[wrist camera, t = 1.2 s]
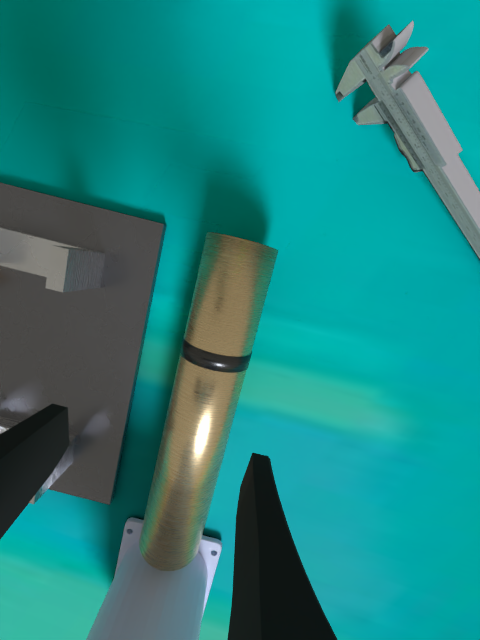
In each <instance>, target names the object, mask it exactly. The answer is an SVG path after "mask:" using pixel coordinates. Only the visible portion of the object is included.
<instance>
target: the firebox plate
mask: <svg viewBox="0 0 480 640" xmlns="http://www.w3.org/2000/svg"><path fill="white" fill-rule="evenodd" d="M165 230H166V225H165V224H162V223H158V222H154V221H150V220H146V219H142V218H138V217H134V216H130V215H126V214H122V213H118V212H114V211H110V210H106V209H102V208H98V207H94V206H90V205H87V204H83V203H79V202H75V201H71V200H67V199H63V198H59V197H55V196H51V195H47V194H43V193H39V192H35V191H31V190H27V189H23V188H19V187H15V186H11V185H7V184H3V183H0V434H1V433H3V432H5V431H6V430H8V429H10V428H12V427H13V426H15V425H17V424H18V423H20V422H22V421H23V420H25V419H27V418H28V417H30V416H32V415H33V414H35V413H37V412H39V411H40V410H42V409H44V408H45V407H47V406H49V405H51V404H56V405H60V406H65V407H68V421H69V447H68V448H67V450H66V452H65V453H64V455H63V456H62V458H61V460H60V461H59V463H58V464H57V466H56V468H55V469H54V471H53V472H52V474H51V475H50V476H49V478H48V479H47V480H46V481H45V483H44V484H43V485H42V487H41V488H40V489H39V490H38V492H37V493H36V494H35V496H34V497H33V498H32V499H31V501H30V502H29V503H32V504H34V503H35V502H36V501H37V500H38V499H39V498H40V497H41V496H42V495H43V494H44V493H45V492H46V490H47V489H50V490H54V491H58V492H62V493H66V494H70V495H74V496H78V497H82V498H86V499H89V500H93V501H97V502H101V503H105V504H109V505H110V503H111V502H112V500H113V498H114V493H115V488H116V482H117V477H118V472H119V467H120V462H121V457H122V452H123V446H124V441H125V436H126V431H127V426H128V421H129V415H130V410H131V405H132V400H133V395H134V390H135V385H136V379H137V374H138V369H139V364H140V359H141V354H142V348H143V343H144V338H145V333H146V328H147V323H148V318H149V312H150V307H151V302H152V297H153V292H154V287H155V281H156V276H157V271H158V266H159V261H160V256H161V251H162V245H163V240H164V235H165Z"/></svg>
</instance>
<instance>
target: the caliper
mask: <svg viewBox="0 0 480 640" xmlns="http://www.w3.org/2000/svg"><path fill="white" fill-rule="evenodd" d="M413 26H414V23H413V21H412V22H411V23H410V24H409V25H407V26H406V27H405V28H404V29H403V30H402V31H401V32H400V33H399V34H398V35H397V36H396V35H395V33H394V31H393V30H392V28H391V27H390V25H387V26H386V27H385V28H384V29H383V30H382V31H381V32H380V33H379V34H378V35H376V36H375V37H374V38H373V39H372V40H371V41H370V42H369V43H368V44H367V45H366V46H365V47H364V48H363V49H362V50H361V51H360V52H359V53H358V54H357V55H356V56H355V57H354V58H353V59H352V60H351V61H350V63H349V65H348V67H347V69H346V71H345V73H344V75H343V77H342V79H341V81H340V84H339V86H338V88H337V91H336V97H337V99H338V101H339V102H340V101H341V100H342V99H343V98H344V97H346V96H347V95H348V94H350V93H351V92H352V91H354V90H355V89H357V88H358V87H359V86H361V85H362V84H363V83H365V82H366V81H367V82H368V84H369V86H370V88H371V90H372V91H373V93H374V94H375V96H376V98H374V99H373V100H371V101H370V102H369V103H368V104H367V105H366V106H364V107H363V108H362V109H361V110H360V111H359V112H358V113H357V114H356V115H355V116H354V117H353V120H354V121H355V122H356V123H357V124H358V125H367V124H386V123H388V125H389V126H390V128H391V129H392V131H393V132H394V138H395V141H396V143H397V146H398V149H399V151H400V152H401V153H402V154H403V155H404V156H405V158H406V159H407V161H408V164H409V166H410V168H411V170H412V171H413V172H420V171H423V172H424V173H425V175H426V177H427V178H428V180H429V181H430V183H431V184H432V186H433V187H434V189H435V191H436V192H437V194H438V195H439V197H440V198H441V200H442V202H443V203H444V205H445V206H446V208H447V209H448V211H449V212H450V214H451V216H452V217H453V219H454V220H455V222H456V223H457V225H458V226H459V228H460V230H461V231H462V233H463V234H464V236H465V237H466V239H467V241H468V242H469V244H470V245H471V247H472V248H473V250H474V252H475V253H476V255H477V256H478V258H479V260H480V191H479V190H478V188H477V186H476V185H475V183H474V181H473V180H472V178H471V176H470V174H469V173H468V171H467V169H466V168H465V166H464V164H463V163H462V161H461V159H460V157H459V156H458V154H459V153H460V152H461V151H462V148H461V146H460V144H459V142H458V141H457V139H456V137H455V135H454V133H453V132H452V130H451V128H450V126H449V125H448V123H447V121H446V119H445V117H444V116H443V114H442V112H441V110H440V109H439V107H438V105H437V103H436V101H435V100H434V98H433V96H432V94H431V92H430V91H429V89H428V87H427V85H426V84H425V82H424V80H423V78H422V77H421V75H420V74H419V72H418V71H416V72H414V73H413V74H411V73H410V72H409V69H410V68H411V67H412V66H413V65H414V64H415V63H416V62H417V61H418V60H419V59H420V58H421V57H422V56H423V55H424V54H425V53H426V52H427V51H428V48H427V47H412V48H409V49H407V50H405V51H404V52H403V53H401V54H400V50H401V49H402V48H403V47H404V46H405V45H406V44H407V42H408V40H409V38H410V36H411V33H412V30H413Z"/></svg>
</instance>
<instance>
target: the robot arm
mask: <svg viewBox="0 0 480 640" xmlns="http://www.w3.org/2000/svg"><path fill="white" fill-rule="evenodd" d="M68 447H69V421H68V407H65V406H60V405H56V404H51V405H49V406H47V407H45V408H44V409H42V410H40V411H39V412H37V413H35V414H33V415H32V416H30V417H28V418H27V419H25V420H23V421H22V422H20V423H18V424H17V425H15V426H13V427H12V428H10V429H8V430H6V431H5V432H3V433H1V434H0V539H1V538H2V536H3V535H4V534H5V533H6V531H7V530H8V529H9V527H10V526H11V525H12V524H13V522H14V521H15V520H16V518H17V517H18V516H19V515H20V513H21V512H22V511H23V510H24V508H25V507H26V506H27V504H28V503H29V502H30V501H31V499H32V498H33V497H34V496H35V494H36V493H37V492H38V490H39V489H40V488H41V487H42V485H43V484H44V483H45V481H46V480H47V479H48V478H49V476H50V475H51V474H52V472H53V471H54V469H55V468H56V466H57V464H58V463H59V461H60V460H61V458H62V456H63V455H64V453H65V452H66V450H67V448H68ZM143 521H144V520H141V519H137V518H129V519H128V520H127V522H126V524H125V527H124V532H123V537H122V542H121V547H120V552H119V556H118V561H117V566H116V571H115V576H114V579H113V581H112V584H111V586H110V588H109V590H108V592H107V595H106V597H105V599H104V601H103V604H102V606H101V608H100V610H99V612H98V615H97V617H96V619H95V621H94V623H93V626H92V628H91V630H90V632H89V635H88V637H87V639H86V640H199V634H200V627H201V620H202V616H203V613H204V609H205V606H206V602H207V599H208V595H209V591H210V588H211V584H212V581H213V577H214V574H215V570H216V567H217V563H218V560H219V556H220V553H221V549H222V542H221V541H220V540H218V539H215V538H211V537H207V536H203V535H202V538H201V542H200V545H199V549H198V552H197V554H196V556H195V558H194V559H193V560H192V562H191V563H190V564H188V565H187V566H185V567H184V568H182V569H179V570H175V571H162V570H158V569H156V568H154V567H152V566H151V565H149V564H148V563H147V562H146V561H145V559H144V558H143V556H142V554H141V552H140V548H139V539H140V534H141V530H142V525H143ZM130 529H131V530H130ZM213 550H215V551H213ZM228 640H337V638H336V636H335V634H334V632H333V630H332V628H331V626H330V624H329V622H328V620H327V618H326V616H325V614H324V612H323V610H322V608H321V606H320V604H319V601H318V599H317V597H316V595H315V593H314V590H313V588H312V586H311V584H310V581H309V579H308V577H307V574H306V572H305V570H304V567H303V565H302V562H301V560H300V557H299V555H298V552H297V549H296V547H295V544H294V541H293V539H292V536H291V533H290V530H289V527H288V524H287V521H286V518H285V515H284V512H283V509H282V505H281V502H280V499H279V495H278V492H277V488H276V484H275V480H274V476H273V472H272V467H271V462H270V458H269V457H268V456H264V455H260V454H256V453H252V456H251V458H250V461H249V464H248V467H247V470H246V473H245V475H244V478H243V481H242V484H241V487H240V494H239V501H238V508H237V515H236V533H235V554H234V576H233V595H232V608H231V616H230V625H229V633H228Z"/></svg>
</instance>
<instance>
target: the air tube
mask: <svg viewBox="0 0 480 640" xmlns="http://www.w3.org/2000/svg"><path fill="white" fill-rule="evenodd" d="M277 254H278V250H276V249H274V248H271V247H269V246H266V245H262V244H259V243H256V242H252V241H249V240H245V239H241V238H237V237H233V236H228V235H224V234H219V233H213V232H207V234H206V239H205V243H204V248H203V253H202V257H201V262H200V266H199V271H198V275H197V280H196V284H195V289H194V293H193V298H192V303H191V307H190V312H189V316H188V321H187V325H186V330H185V334H184V336H183V340H182V344H181V349H180V357H179V362H178V366H177V371H176V375H175V380H174V384H173V389H172V393H171V398H170V402H169V407H168V412H167V416H166V421H165V425H164V430H163V434H162V439H161V443H160V448H159V452H158V457H157V461H156V466H155V471H154V475H153V480H152V484H151V489H150V493H149V498H148V502H147V507H146V511H145V516H144V521H143V525H142V530H141V534H140V539H139V548H140V552H141V554H142V556H143V558H144V559H145V561H146V562H147V563H148V564H149V565H151V566H152V567H154V568H156V569H158V570H162V571H175V570H179V569H182V568H184V567H185V566H187V565H188V564H190V563H191V562H192V560H193V559H194V558H195V556H196V554H197V552H198V549H199V545H200V542H201V538H202V534H203V530H204V527H205V523H206V519H207V515H208V512H209V508H210V504H211V501H212V497H213V493H214V489H215V486H216V482H217V478H218V474H219V471H220V467H221V463H222V459H223V456H224V452H225V448H226V444H227V441H228V437H229V433H230V429H231V426H232V422H233V418H234V414H235V411H236V407H237V403H238V400H239V396H240V392H241V388H242V385H243V381H244V377H245V373H246V370H247V368H248V365H249V361H250V358H251V354H252V347H253V343H254V340H255V336H256V332H257V328H258V325H259V321H260V317H261V313H262V310H263V306H264V302H265V298H266V295H267V291H268V287H269V284H270V280H271V276H272V272H273V269H274V265H275V261H276V257H277Z"/></svg>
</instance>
